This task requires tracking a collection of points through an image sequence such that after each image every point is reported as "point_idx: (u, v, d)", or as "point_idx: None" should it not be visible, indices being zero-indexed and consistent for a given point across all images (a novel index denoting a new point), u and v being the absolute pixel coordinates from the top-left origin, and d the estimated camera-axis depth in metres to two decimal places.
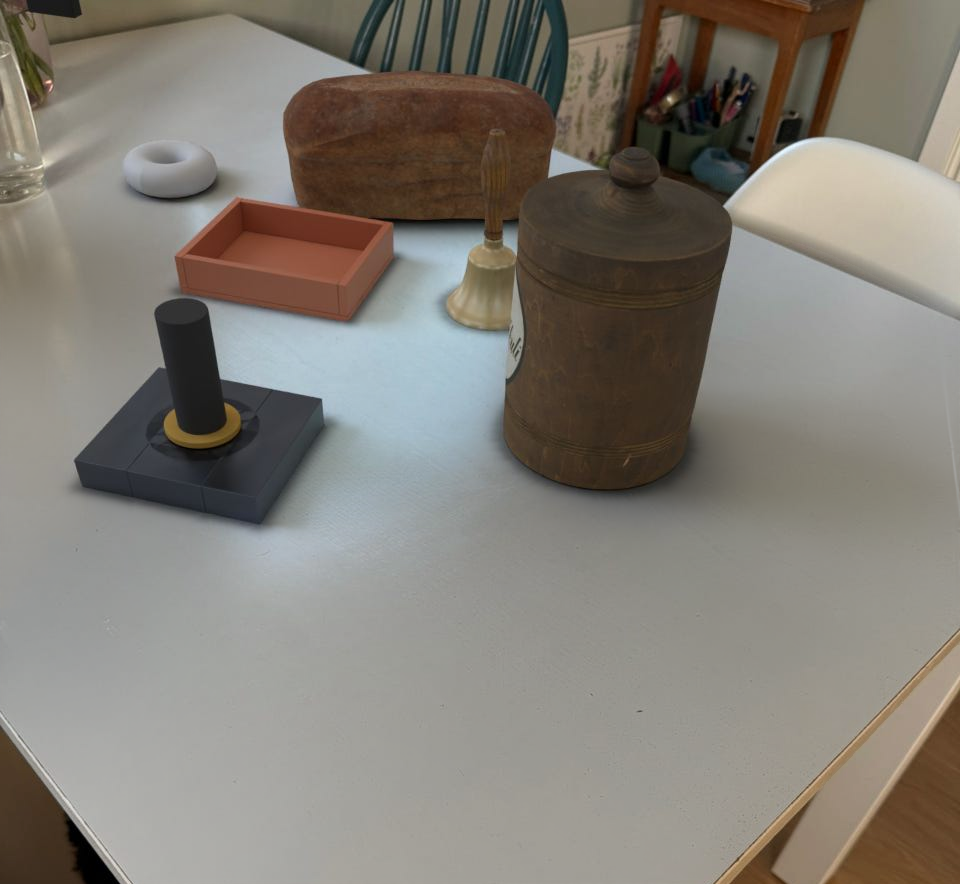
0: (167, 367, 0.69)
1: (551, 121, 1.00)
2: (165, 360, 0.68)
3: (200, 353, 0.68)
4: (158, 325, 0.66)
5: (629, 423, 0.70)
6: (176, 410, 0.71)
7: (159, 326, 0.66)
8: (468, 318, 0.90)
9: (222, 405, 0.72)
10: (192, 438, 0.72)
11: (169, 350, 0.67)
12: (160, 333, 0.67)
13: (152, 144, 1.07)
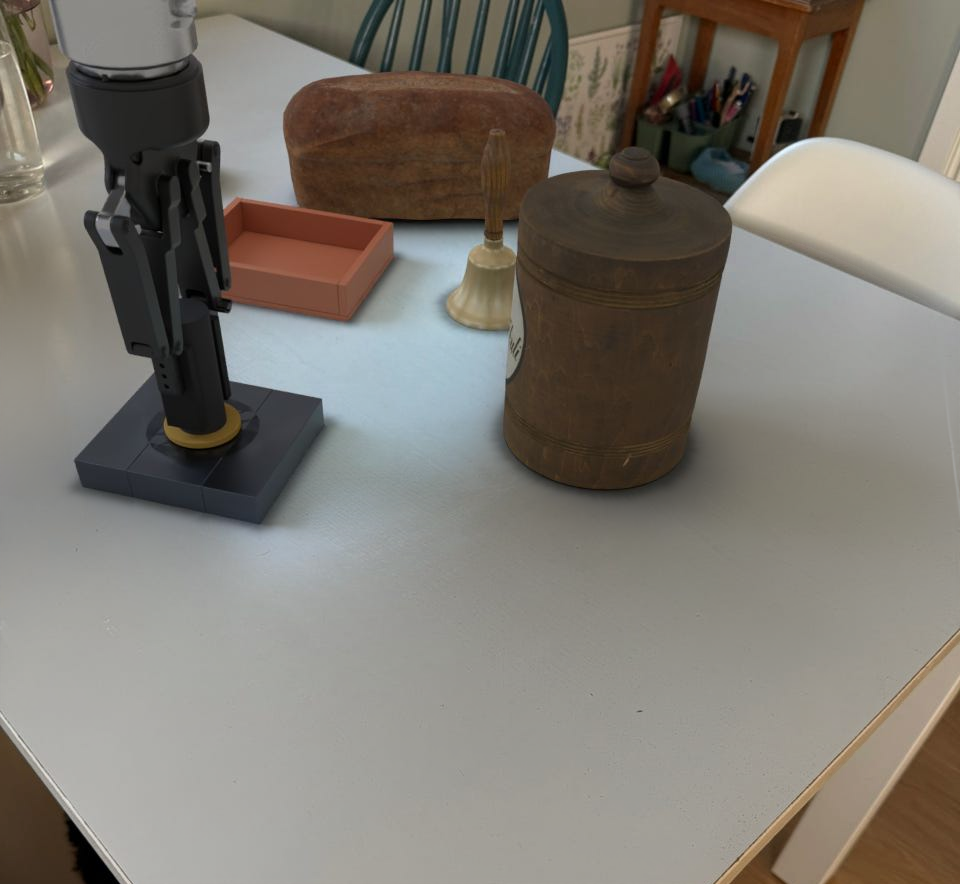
0: None
1: (551, 121, 1.00)
2: None
3: (200, 353, 0.68)
4: None
5: (629, 422, 0.70)
6: None
7: None
8: (468, 318, 0.90)
9: (222, 405, 0.72)
10: (192, 438, 0.72)
11: None
12: None
13: None
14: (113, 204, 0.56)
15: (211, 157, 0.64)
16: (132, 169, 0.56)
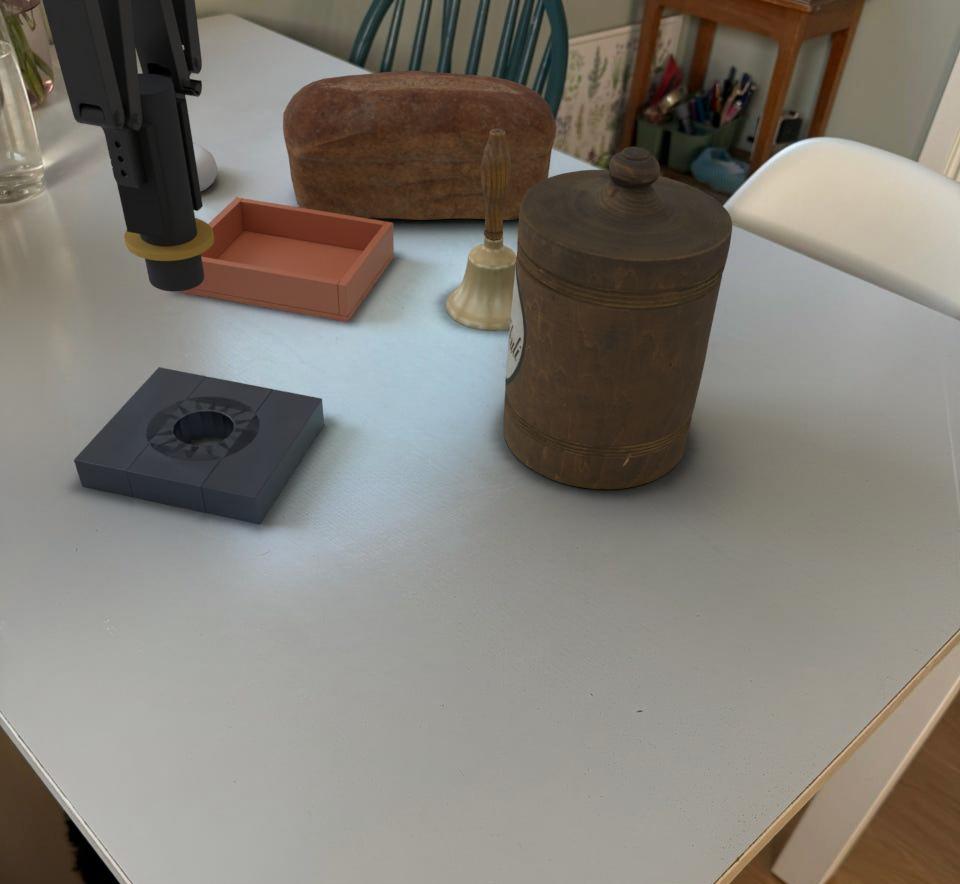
0: None
1: (551, 121, 1.00)
2: None
3: (163, 137, 0.58)
4: None
5: (629, 422, 0.70)
6: None
7: None
8: (468, 318, 0.90)
9: (191, 212, 0.62)
10: (156, 249, 0.62)
11: None
12: None
13: None
14: None
15: None
16: None
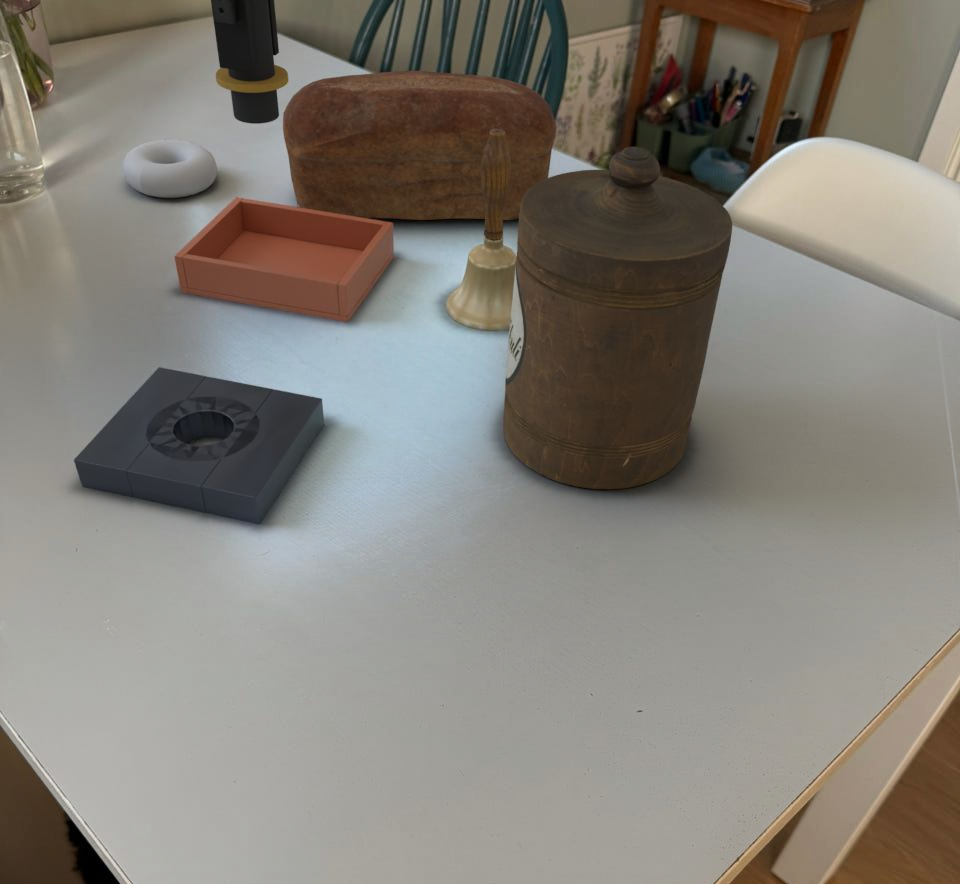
0: None
1: (551, 121, 1.00)
2: None
3: None
4: None
5: (629, 422, 0.70)
6: None
7: None
8: (468, 318, 0.90)
9: (271, 53, 0.76)
10: (243, 83, 0.76)
11: None
12: None
13: (152, 144, 1.07)
14: None
15: None
16: None
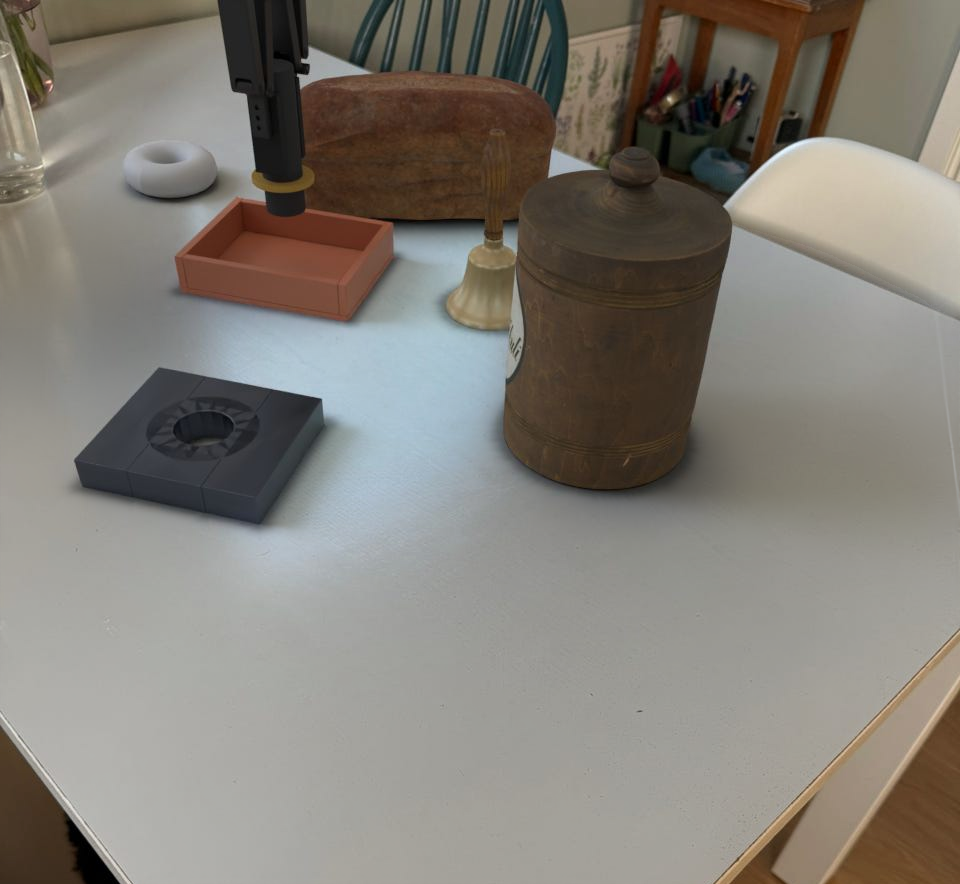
0: None
1: (551, 121, 1.00)
2: None
3: (286, 103, 0.83)
4: None
5: (629, 422, 0.70)
6: None
7: None
8: (468, 318, 0.90)
9: (300, 158, 0.87)
10: (276, 184, 0.87)
11: None
12: None
13: (152, 144, 1.07)
14: None
15: None
16: None
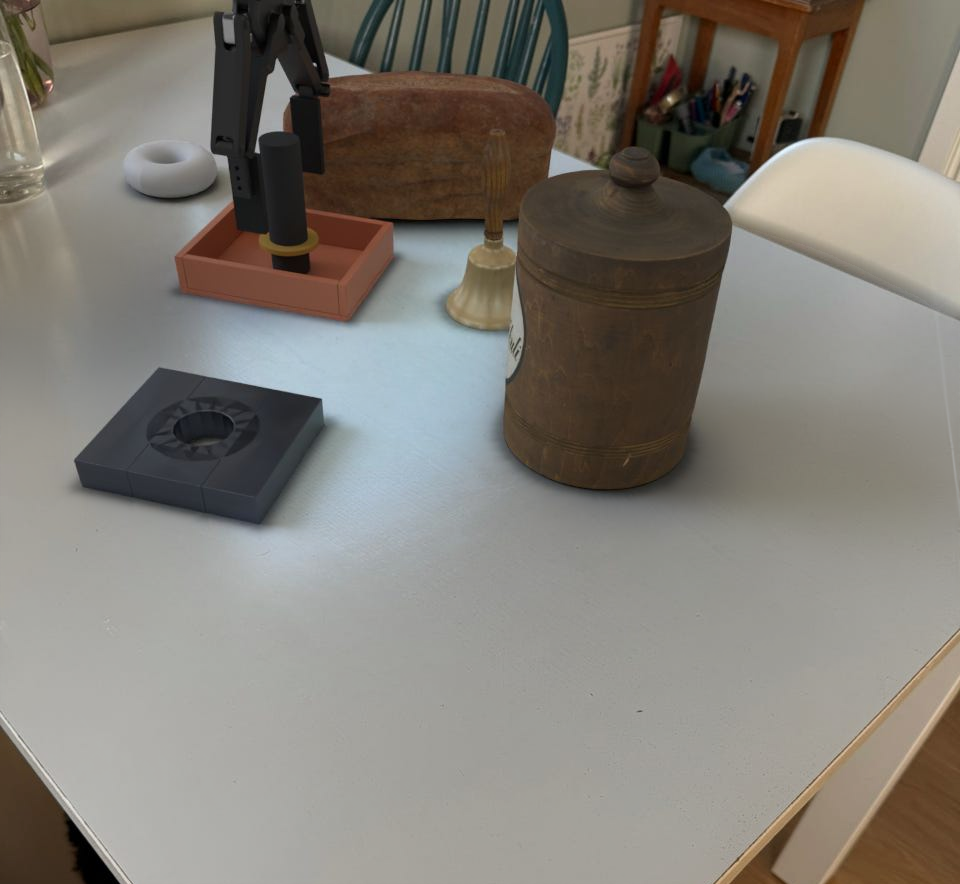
0: (266, 186, 0.88)
1: (551, 121, 1.00)
2: (264, 180, 0.88)
3: (292, 173, 0.87)
4: (261, 149, 0.86)
5: (629, 422, 0.70)
6: (270, 225, 0.91)
7: (263, 150, 0.86)
8: (468, 318, 0.90)
9: (305, 223, 0.92)
10: (282, 248, 0.91)
11: (269, 170, 0.87)
12: (262, 156, 0.86)
13: (152, 144, 1.07)
14: (237, 13, 0.75)
15: None
16: None
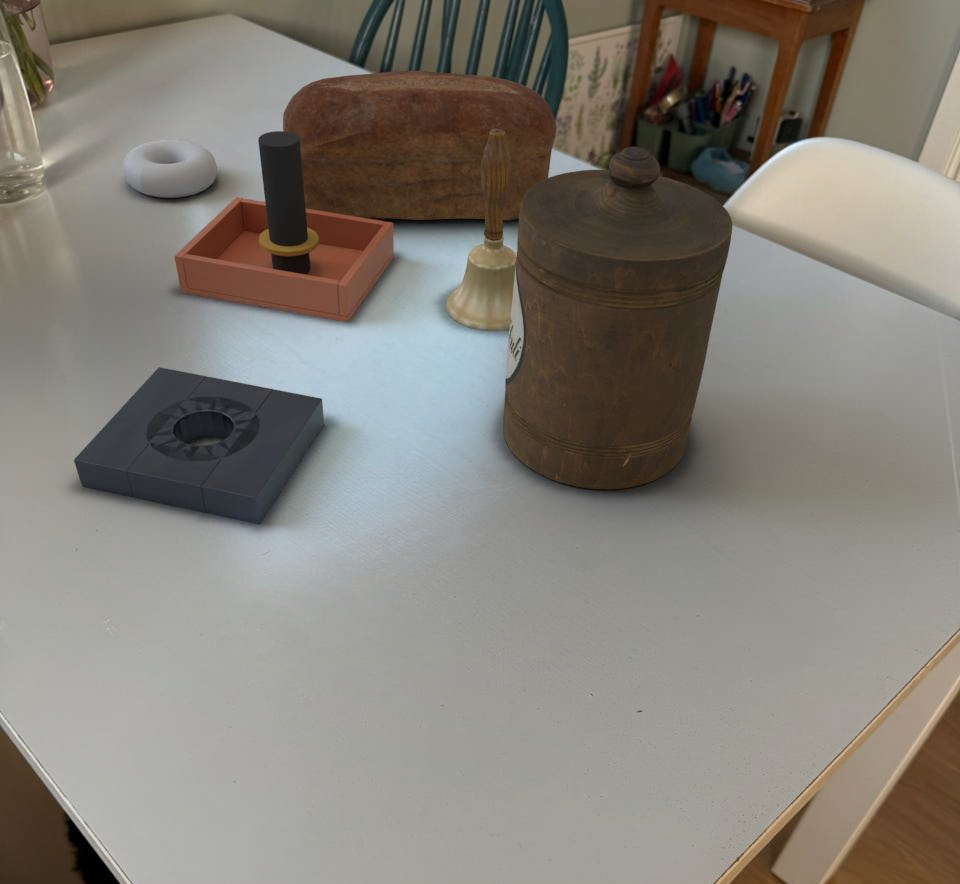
0: (266, 186, 0.88)
1: (551, 121, 1.00)
2: (264, 180, 0.88)
3: (292, 173, 0.87)
4: (261, 149, 0.86)
5: (629, 422, 0.70)
6: (270, 225, 0.91)
7: (263, 150, 0.86)
8: (468, 318, 0.90)
9: (305, 223, 0.92)
10: (282, 248, 0.91)
11: (269, 170, 0.87)
12: (262, 156, 0.86)
13: (152, 144, 1.07)
14: None
15: None
16: None
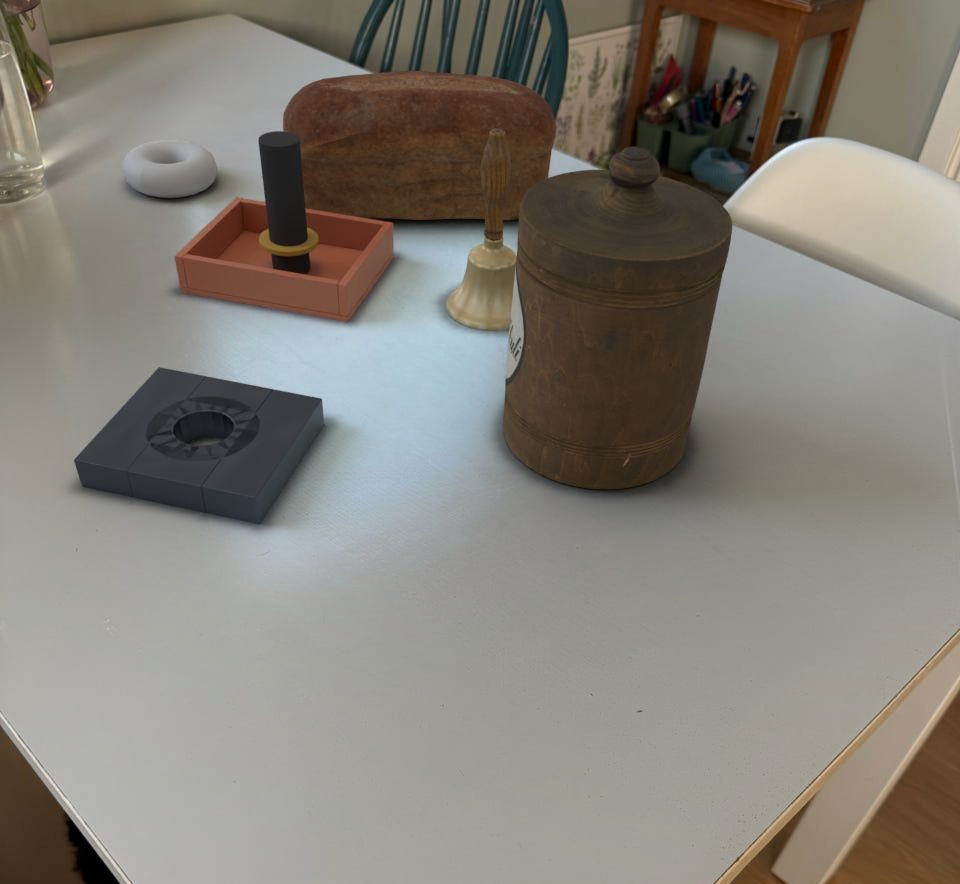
0: (266, 186, 0.88)
1: (551, 121, 1.00)
2: (264, 180, 0.88)
3: (292, 173, 0.87)
4: (261, 149, 0.86)
5: (629, 422, 0.70)
6: (270, 225, 0.91)
7: (263, 150, 0.86)
8: (468, 318, 0.90)
9: (305, 223, 0.92)
10: (282, 248, 0.91)
11: (269, 170, 0.87)
12: (262, 156, 0.86)
13: (152, 144, 1.07)
14: None
15: None
16: None
